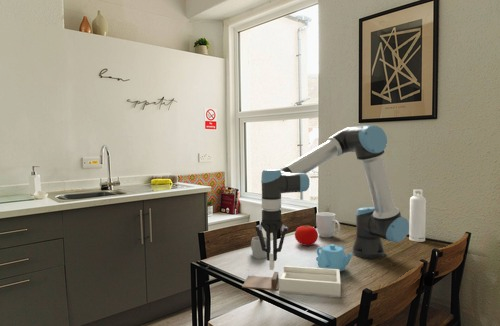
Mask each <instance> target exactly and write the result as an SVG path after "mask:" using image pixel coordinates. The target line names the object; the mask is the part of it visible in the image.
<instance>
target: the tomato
mask: <svg viewBox="0 0 500 326" xmlns="http://www.w3.org/2000/svg"><path fill="white" fill-rule="evenodd" d="M318 237H319V233H318V231H317V228H315V227H313V226H311V225H308V224H306V225H300V226H299V227H297V228H296V229H295V231H294V238H295V241H296V242H298V243H299V244H301V245H302V246H311V245H314V244H315V243H316V242H317V240H318Z"/></svg>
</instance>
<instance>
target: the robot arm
mask: <svg viewBox="0 0 500 326" xmlns="http://www.w3.org/2000/svg"><path fill="white" fill-rule="evenodd" d="M387 144H388V136H387V133H386V132H385V130H384V129H383V128H382V127H381V126H378V125H372V124H365V125H351V126H348V127H345V128H343V129H341V130H339V131H337V132H336V133H333V135H331V136H330V137H328V138H327V139H326V142H324V143H322V144H320V145H318V146H317V147H315V148H313V149H312V150H310V151H309V152H307V153H305V154H304V155H302V156H300V157H298V158H296V159H295V160H293V161H291V162H290V163H288V164H286V165H285V166H283V167H281V168H280V169H277V168H276V169H275V168H268V169H267V168H266V169H263V170H262V172H261V180H260V181H261V209H262V210H261V222H260V224H258V225H256V226H255V228H254V229H255V231H256V232H257V235H258V236H257V237H259V240H260V244H261V248H262V251H265V252H267V257H266V261H269V270H270V271H274V269H275V262H276V261H277V260H278V253H280V252H281V251H282V248H283V244H284V242H285V236H286V233H287V232H288V230H289V227H288V226H286V225H285V224H283V221H282V194H288V193H303V192H306V191H308V189H309V188H310V178H309V176H308V174H307V173H310V172H311V171H313V170H314V169H316V168H318V167H320V166H321V165H322V164H324V163H325V162H328V161H329V160H331V159H332V158H334V157H340V156H341V155H343V154H346V153H355V155H356V159H357V160H358V161H360V162H361V164H362V168H363V171H364V174H365V178H366V182H367V187H368V189H369V193H370V198H371V200H372V201H371V202H372V204H373V206H369V207H368V206H365V207H359V208H357V209H356V215H355V220H356V222H355V223H356V224H355V226H356V228H355V231H356V235H355V236H356V237H355V239H354V243H353V246H352V254H353V255H354V256H356V257H360V258H364V259H371V260H372V259H381V258H384V257H385V256H386V253H385V252H386V250H385V247H384V242H383V240H386V241H388V242H393V243H399V242H402V241H403V240H405V238H407V236H408V234H409V223H410V221H409V220H408V219H407V218H406V217H404V216H402V215H401V211H400V208H399V207H397V206H396V205H395V201H394V197H393V193H392V190H391V186H390V183H389V179H388V176H387V171H386V167H385V165H384V163H385V162H384V161H383V160H384V159H383V156H384V154H385V149H386V147H387ZM280 229H281V236H280V240H279V244H278V232H279V231H280ZM263 230H264V231H265V235H266V245H265V241H264V237H265V236H264V234H263ZM271 234H272V238H271ZM271 239H272V240H271ZM382 239H383V240H382ZM271 241H272V242H271ZM271 243H272V247H271ZM271 248H272V249H271ZM271 250H272V251H271Z"/></svg>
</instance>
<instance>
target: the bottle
mask: <svg viewBox="0 0 500 326" xmlns="http://www.w3.org/2000/svg"><path fill="white" fill-rule="evenodd" d="M412 192H413V193H412V194H413V195H412V196H411V197H410V198H409V232H408V235H409V236H408V237H409V238H408V239H409V240H410V241H412V242H416V243H417V242H418V243H419V242H420V243H422V242H425V241H426V223H427V221H426V216H427V215H426V214H427V213H426V211H427V199H426V197H425V196H424V195H423V194H424V193H423V192H424V190H423V189H418V188H416V189H414V188H413V191H412ZM416 192H417V193H416Z"/></svg>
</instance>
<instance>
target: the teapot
mask: <svg viewBox="0 0 500 326" xmlns="http://www.w3.org/2000/svg"><path fill="white" fill-rule="evenodd" d="M320 249H321V250H320ZM344 249H345V247H344V246H343V245H341V244H340V245H339V246H338V245H336V244H334V243H331V244H328V245H326V246H318V247H317V248H316V253H317V257H316V261H317V265H318V268H327V269H339V271H340V272H343V271H344V270H345V269H346V268H347V266H348V265H349V263H350V261H351V259H352V256H353V255H354V254H353V252H348V254H347V255H346V252H345V250H344Z"/></svg>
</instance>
